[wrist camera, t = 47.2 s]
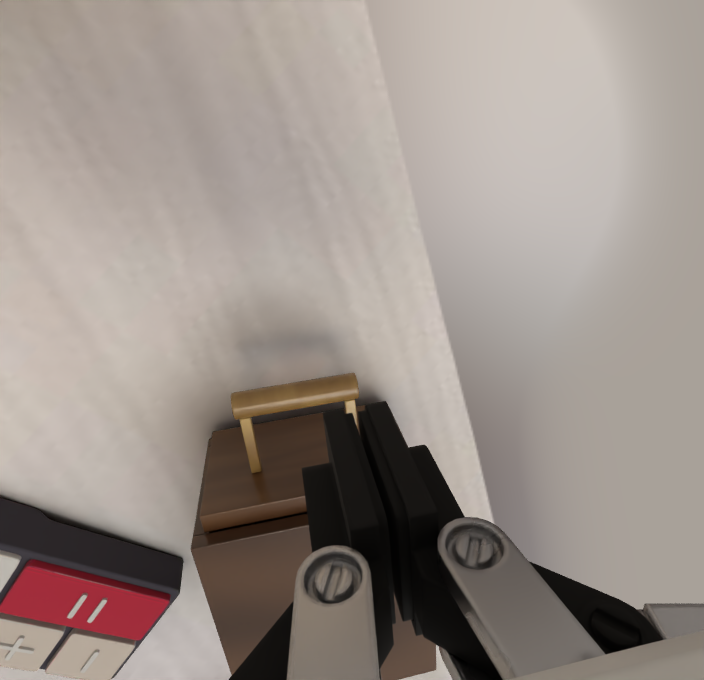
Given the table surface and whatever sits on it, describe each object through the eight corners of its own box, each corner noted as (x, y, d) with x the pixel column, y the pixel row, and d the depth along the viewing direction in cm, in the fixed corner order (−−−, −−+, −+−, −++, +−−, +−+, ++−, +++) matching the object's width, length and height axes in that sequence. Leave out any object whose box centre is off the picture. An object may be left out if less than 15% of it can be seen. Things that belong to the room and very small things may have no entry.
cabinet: (208, 439, 33) (190, 549, 24) (389, 406, 35) (433, 499, 26) (248, 589, 40) (245, 719, 31) (399, 556, 42) (436, 670, 33)
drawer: (194, 362, 30) (174, 434, 23) (379, 333, 31) (414, 392, 24) (250, 577, 38) (248, 680, 31) (393, 546, 40) (423, 637, 32)
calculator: (109, 692, 36) (-122, 656, 30) (121, 637, 40) (-82, 596, 34) (181, 601, 34) (-54, 542, 28) (186, 552, 38) (-20, 490, 31)
